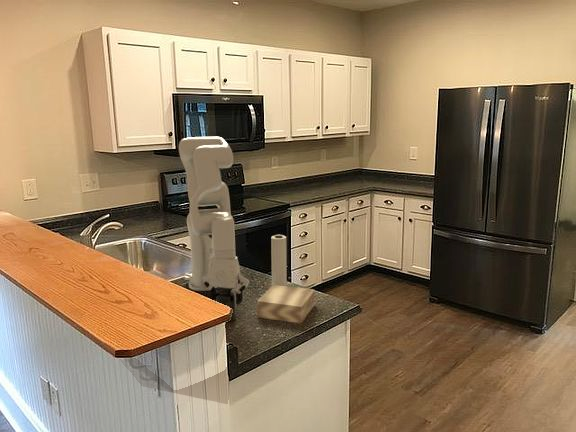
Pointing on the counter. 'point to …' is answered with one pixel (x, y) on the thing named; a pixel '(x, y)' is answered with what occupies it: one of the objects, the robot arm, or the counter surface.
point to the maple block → (286, 303)
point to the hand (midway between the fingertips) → (226, 301)
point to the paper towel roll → (279, 260)
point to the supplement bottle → (227, 299)
